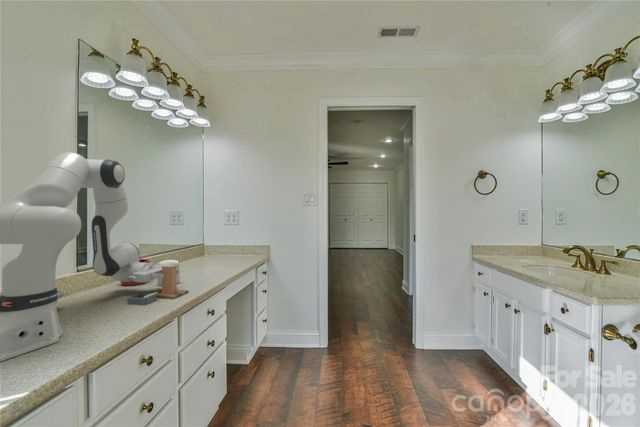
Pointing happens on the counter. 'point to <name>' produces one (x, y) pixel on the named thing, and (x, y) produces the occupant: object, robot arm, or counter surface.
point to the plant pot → (136, 282)
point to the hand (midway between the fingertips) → (171, 273)
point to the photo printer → (170, 262)
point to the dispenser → (142, 299)
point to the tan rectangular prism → (169, 279)
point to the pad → (171, 296)
